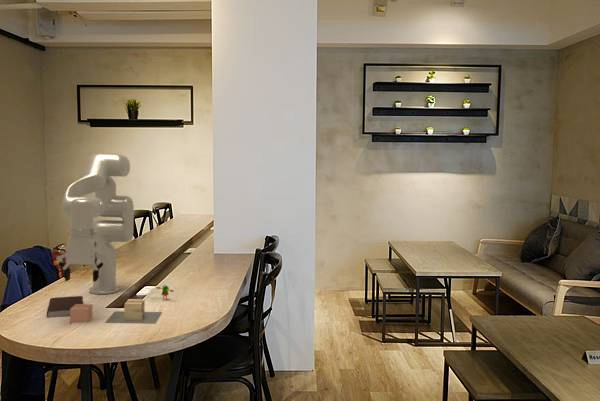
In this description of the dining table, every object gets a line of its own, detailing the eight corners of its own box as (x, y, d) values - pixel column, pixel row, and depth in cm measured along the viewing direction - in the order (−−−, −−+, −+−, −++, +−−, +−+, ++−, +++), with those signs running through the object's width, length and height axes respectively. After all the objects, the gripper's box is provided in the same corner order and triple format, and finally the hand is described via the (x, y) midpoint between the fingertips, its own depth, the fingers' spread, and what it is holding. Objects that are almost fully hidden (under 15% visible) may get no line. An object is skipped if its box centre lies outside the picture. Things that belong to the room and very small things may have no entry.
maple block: (128, 314, 204) (128, 299, 203) (144, 314, 204) (144, 299, 204) (124, 319, 198) (124, 303, 197) (141, 319, 198) (141, 303, 198)
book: (46, 319, 200) (46, 310, 199) (49, 304, 218) (50, 296, 217) (82, 316, 204) (82, 308, 204) (83, 302, 222) (83, 295, 222)
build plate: (114, 313, 208) (114, 311, 207) (162, 314, 209) (162, 312, 209) (104, 325, 194) (104, 322, 194) (155, 326, 195) (155, 323, 195)
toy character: (167, 305, 222) (167, 289, 222) (146, 300, 228) (147, 285, 228) (185, 300, 232) (186, 284, 231) (165, 295, 238) (166, 280, 237)
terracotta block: (75, 320, 199) (75, 304, 198) (92, 320, 199) (92, 304, 199) (70, 325, 193) (70, 308, 192) (87, 325, 193) (87, 309, 193)
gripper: (109, 232, 197) (108, 278, 199) (60, 231, 196) (60, 277, 197) (103, 235, 190) (103, 283, 191) (52, 234, 188) (52, 282, 190)
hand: (81, 280), depth 194 cm, fingers open, 9 cm apart
